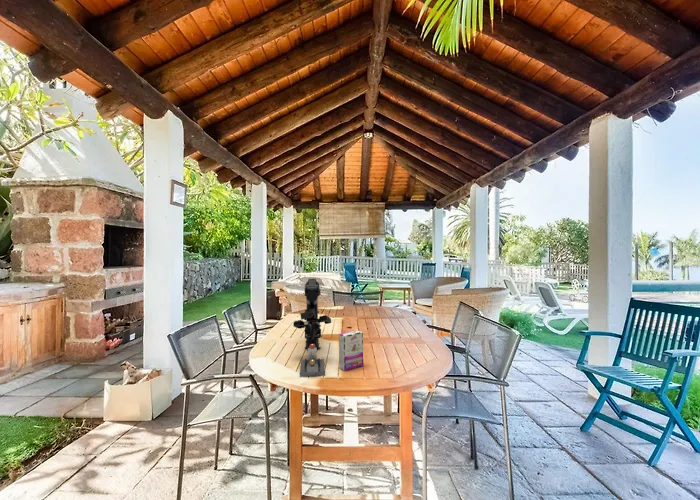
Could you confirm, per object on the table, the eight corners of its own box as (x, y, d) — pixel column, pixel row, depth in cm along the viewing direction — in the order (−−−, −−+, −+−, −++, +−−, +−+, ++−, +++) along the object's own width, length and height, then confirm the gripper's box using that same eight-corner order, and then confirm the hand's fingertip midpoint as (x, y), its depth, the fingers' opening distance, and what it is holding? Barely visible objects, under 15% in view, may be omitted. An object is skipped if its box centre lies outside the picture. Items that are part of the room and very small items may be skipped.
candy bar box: (357, 363, 166) (357, 329, 166) (363, 366, 162) (363, 332, 162) (338, 368, 160) (338, 333, 160) (344, 371, 156) (344, 335, 156)
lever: (308, 361, 158) (307, 342, 158) (316, 361, 159) (316, 342, 159) (308, 363, 156) (307, 344, 156) (316, 363, 156) (316, 344, 156)
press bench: (301, 363, 166) (301, 349, 166) (323, 362, 167) (323, 348, 167) (299, 377, 149) (299, 361, 149) (324, 376, 151) (324, 360, 150)
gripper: (287, 307, 171) (287, 338, 164) (321, 300, 165) (321, 332, 158) (299, 313, 180) (298, 343, 173) (331, 307, 174) (332, 337, 167)
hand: (312, 339), depth 167 cm, fingers closed
